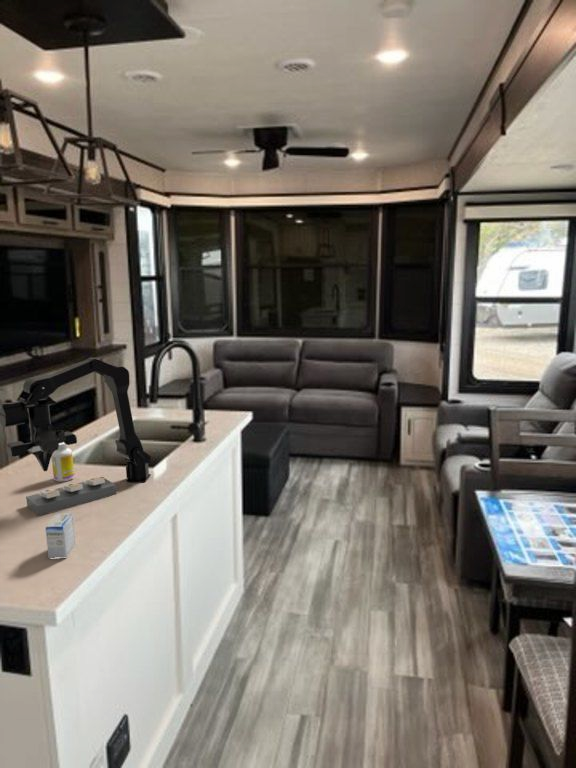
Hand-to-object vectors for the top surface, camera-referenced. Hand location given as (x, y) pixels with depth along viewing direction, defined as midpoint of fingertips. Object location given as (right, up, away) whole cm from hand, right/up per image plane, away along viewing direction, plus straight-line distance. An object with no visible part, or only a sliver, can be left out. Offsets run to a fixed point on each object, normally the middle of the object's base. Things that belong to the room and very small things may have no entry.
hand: (45, 470), depth 171 cm
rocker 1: (+2, -7, -1) cm, 7 cm away
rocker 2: (+12, -5, +8) cm, 16 cm away
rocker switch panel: (+6, -10, +6) cm, 13 cm away
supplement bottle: (-4, -7, +24) cm, 25 cm away
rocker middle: (+7, -6, +4) cm, 10 cm away
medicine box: (+16, -16, -27) cm, 36 cm away
